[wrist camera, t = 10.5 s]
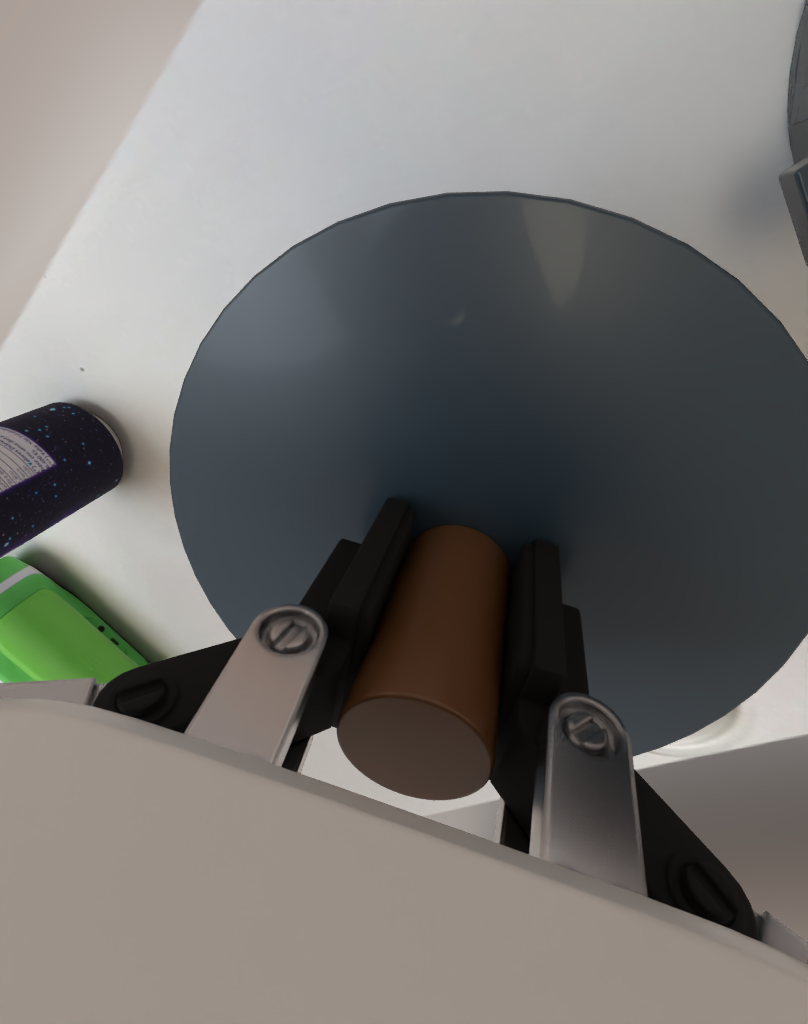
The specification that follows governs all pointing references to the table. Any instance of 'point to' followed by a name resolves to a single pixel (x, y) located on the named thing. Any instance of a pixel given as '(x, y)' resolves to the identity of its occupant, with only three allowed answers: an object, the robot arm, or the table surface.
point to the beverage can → (52, 468)
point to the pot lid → (506, 464)
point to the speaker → (54, 632)
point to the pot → (798, 138)
